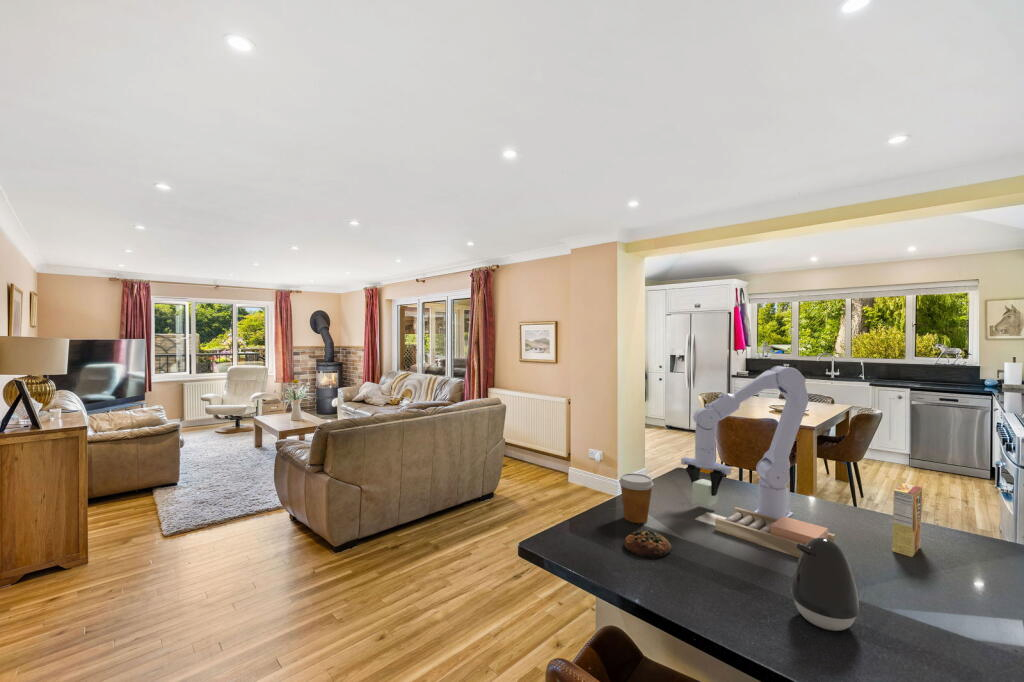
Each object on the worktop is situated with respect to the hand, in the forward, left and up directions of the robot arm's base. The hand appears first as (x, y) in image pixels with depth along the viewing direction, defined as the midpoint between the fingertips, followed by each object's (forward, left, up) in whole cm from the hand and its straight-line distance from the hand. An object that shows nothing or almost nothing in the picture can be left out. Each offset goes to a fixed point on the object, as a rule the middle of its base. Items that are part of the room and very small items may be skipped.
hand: (705, 492), depth 137 cm
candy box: (-13, +45, -5) cm, 47 cm away
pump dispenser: (+37, +40, -5) cm, 55 cm away
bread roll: (+36, +3, -6) cm, 37 cm away
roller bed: (+6, +17, -5) cm, 19 cm away
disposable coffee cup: (+23, -9, -5) cm, 25 cm away
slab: (+6, +27, -3) cm, 28 cm away
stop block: (0, 0, -3) cm, 3 cm away
